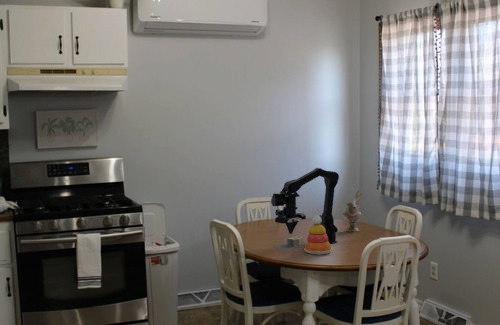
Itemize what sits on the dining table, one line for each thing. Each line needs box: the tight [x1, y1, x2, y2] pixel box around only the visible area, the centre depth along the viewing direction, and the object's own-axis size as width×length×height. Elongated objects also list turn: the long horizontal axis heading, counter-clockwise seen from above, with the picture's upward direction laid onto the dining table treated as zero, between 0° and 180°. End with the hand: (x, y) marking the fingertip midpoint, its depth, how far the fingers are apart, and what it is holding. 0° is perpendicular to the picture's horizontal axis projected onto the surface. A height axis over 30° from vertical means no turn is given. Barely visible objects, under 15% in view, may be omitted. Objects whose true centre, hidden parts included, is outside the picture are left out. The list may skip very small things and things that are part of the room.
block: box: [286, 236, 305, 246], centre depth 299 cm, size 5×4×8 cm
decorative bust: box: [342, 190, 363, 232], centre depth 334 cm, size 11×13×25 cm
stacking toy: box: [303, 214, 333, 256], centre depth 282 cm, size 14×14×20 cm
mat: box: [272, 242, 307, 251], centre depth 297 cm, size 10×20×1 cm, turn 133°
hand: (290, 233), depth 296 cm, fingers closed
